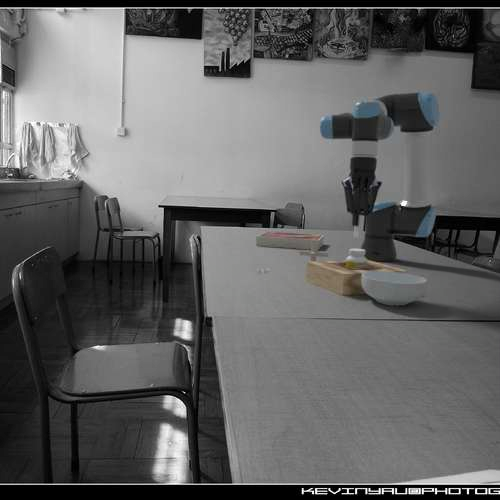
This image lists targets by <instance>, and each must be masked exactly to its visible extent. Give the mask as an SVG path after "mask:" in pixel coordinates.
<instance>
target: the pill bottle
mask: <svg viewBox="0 0 500 500" xmlns="http://www.w3.org/2000/svg"><path fill="white" fill-rule="evenodd" d="M364 255H365V250H363V249H361V248H354V247H353V248H349V255H348V256H347V257H346V259H345V260H346V266H347V267H350V268H367V259H366V258H365V257H364Z"/></svg>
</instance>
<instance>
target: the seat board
mask: <svg viewBox="0 0 500 500" xmlns="http://www.w3.org/2000/svg"><path fill="white" fill-rule="evenodd" d="M306 266H307V267H306V282H309V283H311V284H314V285H316V286H319V287H321V288H322V289H326V290H329V291H331V292H333V293H336V294H338V295H341V296H351V294H354V295H365V294H366V295H368V294H367V293H366V292H365V291H364V290H363V287H362V282H361V278H362V273H364V272H367V271H390V272H399V273H406V274H408V270H405V269H403V268H398V267H394V266H391V265H388V264H383V263H380V262H378V261H372V260H367V268H350V267H347V266H346V259H345V260H321V261H320V260H318V261H317V260H316V261H312V262H311V261H307V265H306Z"/></svg>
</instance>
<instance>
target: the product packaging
mask: <svg viewBox="0 0 500 500" xmlns="http://www.w3.org/2000/svg"><path fill="white" fill-rule="evenodd" d="M324 236H325V235H324V234H322V235H321V234H311V233H310V234H309V233H308V234H307V233H295V232H294V233H293V232H280V231H277V232H276V231H265V232H262V233H261V234H258V235H256V240H255V241H256V242H255V244H256V245H255V246H257V247H264V246H265V247H268V248H278V247H283V248H282V249H292V248H296V250H305V249H306V251H311V249H312V240H317V251H320V249H321V248H322V247H323V246H324V238H325V237H324ZM320 247H321V248H320Z"/></svg>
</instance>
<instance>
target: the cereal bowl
mask: <svg viewBox="0 0 500 500" xmlns="http://www.w3.org/2000/svg"><path fill="white" fill-rule="evenodd" d="M361 282H362V287H363V290H364V291H365V292H366V293H367V294H366V295H368V296H369V297H371V298H372V299H373V300H375V301H376V302H377V303H378V304H381V305H382V304H383V305H385V306H386V305H388V306H393V305H394V306H395V305H396V306H395V307H397V306H398V307H400V306H399V305H402V306H406V305H407V304H409V303H413V302H416V301H418V300H420V299H421V298H422V297H424V295H425V293H426V290H427V284H428V280H427V278H425V277H422V276H419V275H416V274H411V273H407V274H406V273H399V272H390V271H367V272H364V273H362V278H361ZM405 304H406V305H405Z"/></svg>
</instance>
